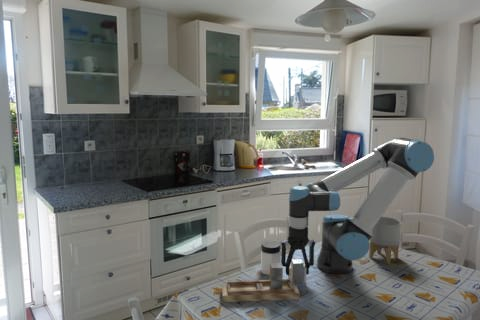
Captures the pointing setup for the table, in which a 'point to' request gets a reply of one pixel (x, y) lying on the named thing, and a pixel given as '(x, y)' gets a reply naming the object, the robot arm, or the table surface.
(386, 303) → the table surface
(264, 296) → the light wooden long frame
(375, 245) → the planter
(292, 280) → the grey rectangular prism
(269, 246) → the jar
